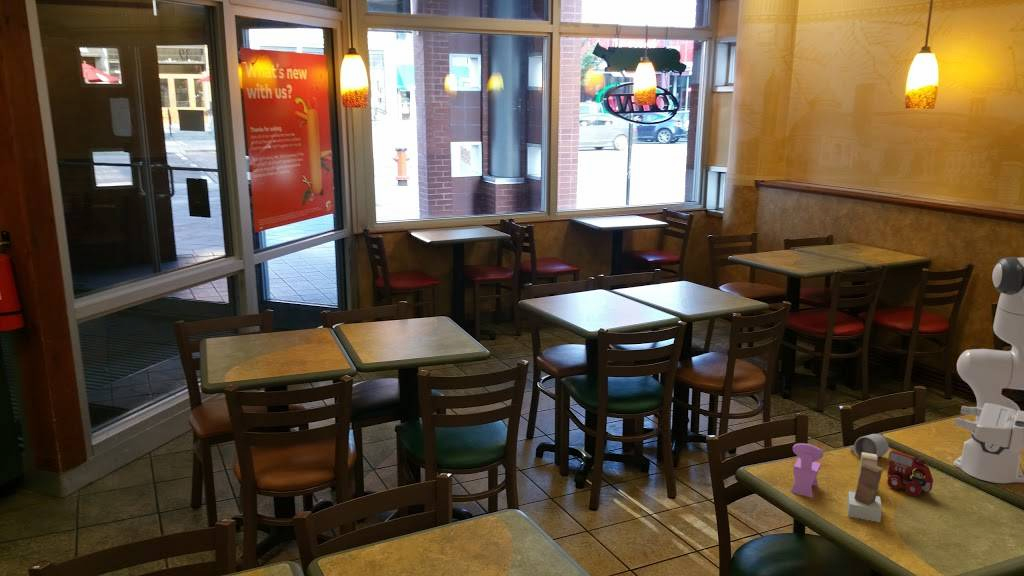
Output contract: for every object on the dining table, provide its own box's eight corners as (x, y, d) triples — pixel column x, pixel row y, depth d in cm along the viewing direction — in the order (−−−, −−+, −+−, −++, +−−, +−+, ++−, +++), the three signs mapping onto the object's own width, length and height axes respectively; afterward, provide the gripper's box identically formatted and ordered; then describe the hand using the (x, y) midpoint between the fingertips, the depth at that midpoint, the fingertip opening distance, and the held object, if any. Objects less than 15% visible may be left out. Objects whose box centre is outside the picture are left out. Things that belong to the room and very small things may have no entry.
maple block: (857, 483, 229) (861, 452, 226) (872, 485, 227) (876, 454, 225) (858, 489, 225) (862, 457, 223) (873, 491, 224) (877, 460, 221)
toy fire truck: (925, 500, 219) (930, 467, 217) (880, 485, 228) (885, 452, 226) (934, 493, 224) (939, 459, 222) (889, 477, 233) (894, 445, 230)
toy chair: (822, 486, 226) (828, 438, 223) (816, 498, 219) (822, 449, 215) (792, 479, 230) (798, 432, 227) (786, 491, 223) (791, 443, 220)
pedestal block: (846, 503, 217) (848, 491, 216) (878, 509, 214) (879, 496, 213) (847, 517, 210) (849, 504, 209) (880, 523, 207) (882, 510, 206)
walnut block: (860, 494, 214) (868, 462, 211) (875, 500, 211) (883, 468, 208) (854, 498, 211) (861, 466, 208) (868, 505, 208) (876, 472, 205)
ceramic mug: (889, 458, 246) (891, 435, 244) (875, 464, 241) (878, 441, 239) (857, 446, 254) (860, 425, 252) (843, 453, 249) (846, 430, 248)
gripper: (1027, 404, 199) (965, 392, 206) (1021, 430, 182) (955, 415, 190) (1022, 427, 200) (962, 414, 208) (1016, 455, 184) (951, 439, 192)
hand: (958, 415), depth 199 cm, fingers open, 8 cm apart
